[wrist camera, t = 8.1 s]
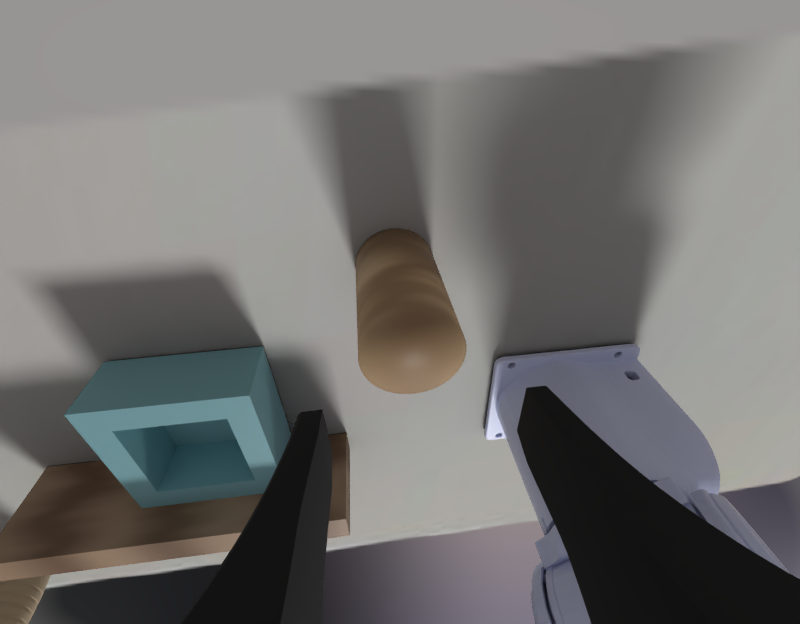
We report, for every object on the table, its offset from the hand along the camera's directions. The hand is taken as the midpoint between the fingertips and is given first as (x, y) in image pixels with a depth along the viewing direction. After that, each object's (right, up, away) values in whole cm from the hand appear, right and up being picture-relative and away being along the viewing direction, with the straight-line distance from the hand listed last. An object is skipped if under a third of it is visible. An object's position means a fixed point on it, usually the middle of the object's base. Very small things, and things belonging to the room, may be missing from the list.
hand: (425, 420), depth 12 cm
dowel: (-1, +6, +8) cm, 10 cm away
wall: (-14, -7, +15) cm, 22 cm away
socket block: (-13, -3, +12) cm, 18 cm away
